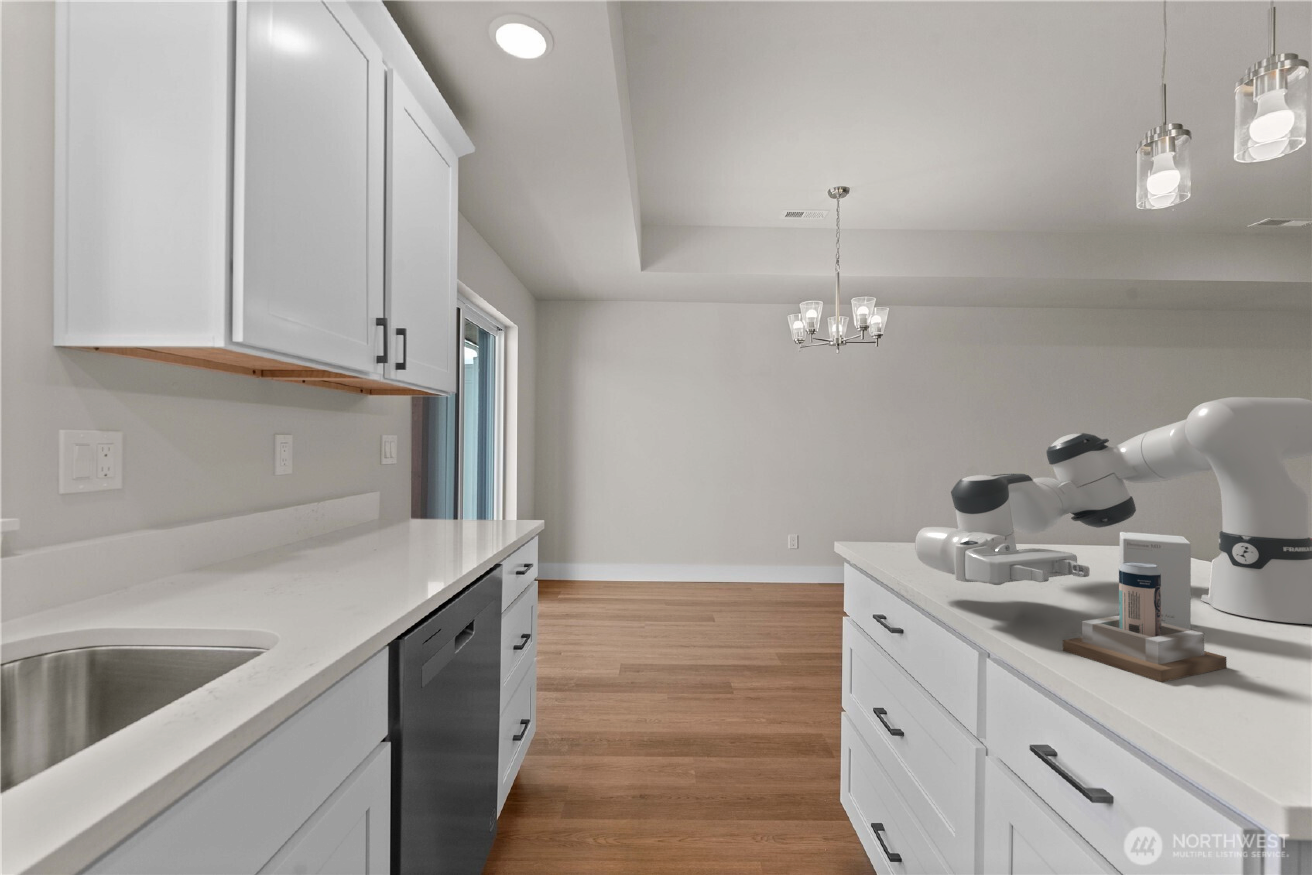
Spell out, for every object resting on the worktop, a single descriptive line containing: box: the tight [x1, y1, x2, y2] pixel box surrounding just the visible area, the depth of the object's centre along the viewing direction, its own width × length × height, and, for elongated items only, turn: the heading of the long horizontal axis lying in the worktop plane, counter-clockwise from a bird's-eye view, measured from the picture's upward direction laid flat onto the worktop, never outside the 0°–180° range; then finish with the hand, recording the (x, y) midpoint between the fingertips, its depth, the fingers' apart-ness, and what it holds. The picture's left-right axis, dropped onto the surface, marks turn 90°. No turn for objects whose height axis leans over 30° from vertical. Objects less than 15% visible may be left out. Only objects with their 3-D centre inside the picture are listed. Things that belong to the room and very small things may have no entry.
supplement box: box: [1118, 531, 1192, 630], centre depth 104 cm, size 9×9×15 cm
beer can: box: [1118, 561, 1161, 637], centre depth 88 cm, size 5×5×12 cm
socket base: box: [1062, 615, 1228, 683], centre depth 88 cm, size 14×13×4 cm
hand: (1066, 574), depth 98 cm, fingers open, 8 cm apart
